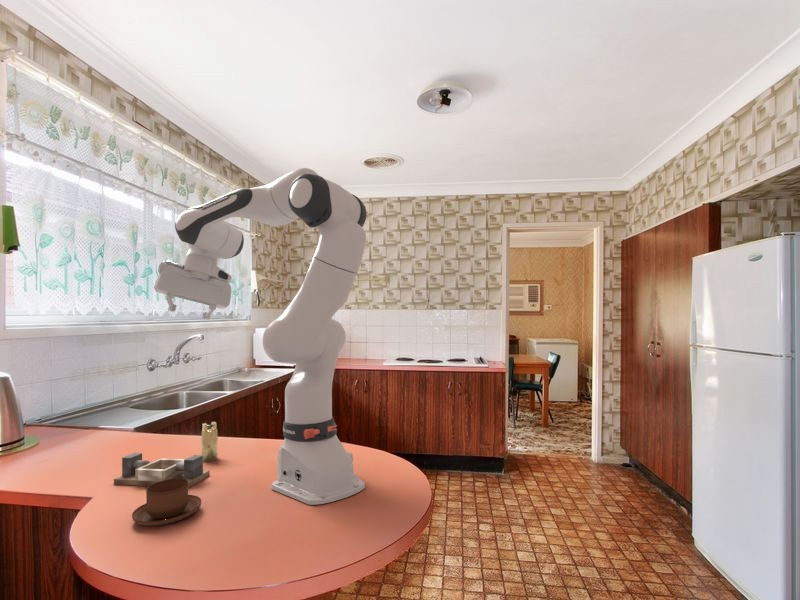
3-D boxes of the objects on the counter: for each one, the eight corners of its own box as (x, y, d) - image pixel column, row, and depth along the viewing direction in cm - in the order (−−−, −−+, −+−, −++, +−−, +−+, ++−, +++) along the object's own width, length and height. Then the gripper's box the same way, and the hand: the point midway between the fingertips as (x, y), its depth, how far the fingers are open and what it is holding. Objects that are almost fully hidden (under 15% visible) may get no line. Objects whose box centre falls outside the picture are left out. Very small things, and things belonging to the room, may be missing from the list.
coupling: (219, 459, 117) (219, 423, 118) (204, 463, 115) (203, 425, 115) (215, 456, 120) (214, 420, 121) (200, 459, 118) (199, 423, 118)
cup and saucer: (123, 519, 83) (123, 487, 83) (187, 498, 92) (187, 470, 92) (143, 539, 75) (143, 503, 75) (211, 514, 84) (211, 483, 84)
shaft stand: (209, 475, 105) (209, 452, 105) (187, 488, 97) (187, 463, 97) (140, 472, 109) (140, 450, 109) (113, 484, 101) (113, 460, 101)
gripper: (164, 255, 115) (152, 303, 110) (236, 278, 128) (228, 321, 124) (157, 261, 119) (145, 308, 115) (228, 282, 132) (219, 325, 128)
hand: (189, 315), depth 119 cm, fingers open, 8 cm apart
